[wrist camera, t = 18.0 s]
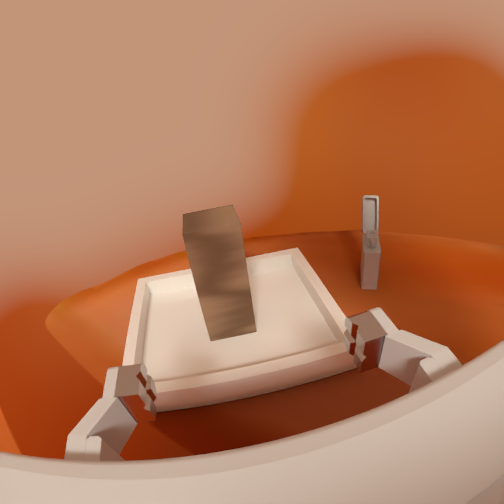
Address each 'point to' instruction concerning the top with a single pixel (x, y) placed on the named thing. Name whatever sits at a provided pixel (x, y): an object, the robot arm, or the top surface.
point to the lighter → (370, 243)
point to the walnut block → (220, 271)
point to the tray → (239, 347)
